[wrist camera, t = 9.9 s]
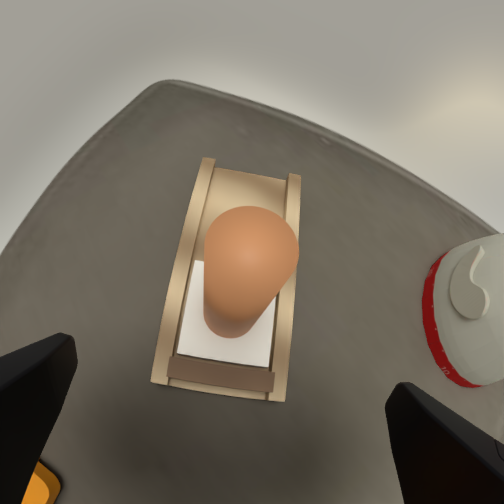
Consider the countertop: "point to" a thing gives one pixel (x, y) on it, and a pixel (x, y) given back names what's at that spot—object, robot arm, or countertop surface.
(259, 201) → the wooden tray
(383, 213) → the countertop surface
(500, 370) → the kitchen timer
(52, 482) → the bracket
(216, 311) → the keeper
